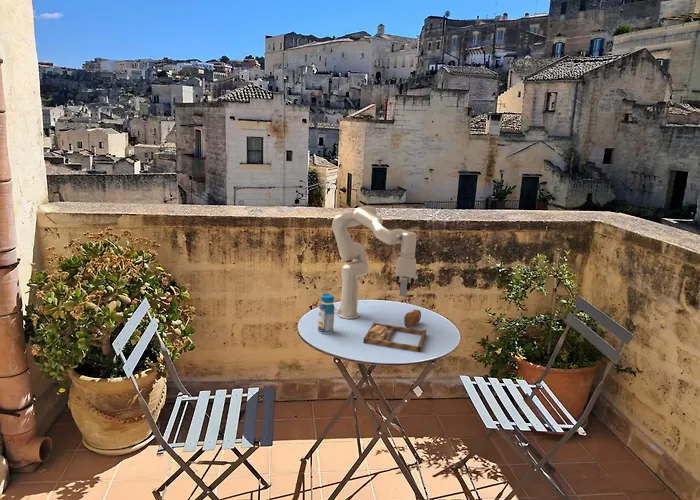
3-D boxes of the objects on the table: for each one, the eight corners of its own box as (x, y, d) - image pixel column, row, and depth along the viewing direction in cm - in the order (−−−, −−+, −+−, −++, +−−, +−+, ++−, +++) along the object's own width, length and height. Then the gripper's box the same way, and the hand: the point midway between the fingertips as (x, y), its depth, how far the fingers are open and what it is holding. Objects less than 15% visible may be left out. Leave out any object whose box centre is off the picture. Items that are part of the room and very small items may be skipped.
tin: (407, 329, 299) (408, 315, 297) (402, 327, 300) (403, 313, 298) (420, 322, 310) (422, 308, 308) (416, 321, 312) (417, 307, 310)
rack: (363, 342, 276) (363, 337, 275) (373, 326, 299) (373, 321, 298) (420, 352, 269) (420, 346, 268) (425, 335, 292) (426, 329, 291)
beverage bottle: (331, 335, 283) (333, 298, 278) (315, 333, 284) (317, 296, 280) (335, 329, 291) (337, 294, 286) (319, 327, 292) (321, 292, 288)
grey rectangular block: (399, 295, 281) (400, 279, 279) (403, 289, 293) (404, 273, 291) (405, 296, 281) (406, 279, 279) (408, 290, 292) (410, 274, 290)
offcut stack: (368, 340, 281) (368, 331, 280) (374, 331, 293) (375, 323, 292) (381, 342, 279) (382, 334, 278) (388, 334, 291) (388, 325, 290)
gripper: (390, 255, 281) (387, 288, 285) (422, 258, 277) (418, 293, 281) (393, 252, 288) (390, 285, 292) (424, 255, 284) (420, 289, 288)
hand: (404, 288), depth 286 cm, fingers closed on grey rectangular block, 3 cm apart
